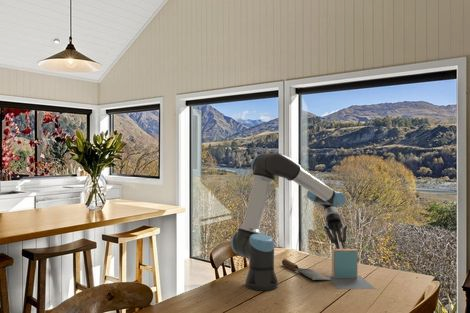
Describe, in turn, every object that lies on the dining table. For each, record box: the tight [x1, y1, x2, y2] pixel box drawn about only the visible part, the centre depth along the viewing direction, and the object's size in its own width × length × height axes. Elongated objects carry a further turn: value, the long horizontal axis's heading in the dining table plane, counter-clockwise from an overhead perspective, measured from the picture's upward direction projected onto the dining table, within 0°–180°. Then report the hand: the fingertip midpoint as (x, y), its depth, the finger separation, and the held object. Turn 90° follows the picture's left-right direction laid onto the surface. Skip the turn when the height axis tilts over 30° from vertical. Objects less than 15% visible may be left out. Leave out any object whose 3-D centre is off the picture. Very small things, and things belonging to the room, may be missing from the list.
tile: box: [331, 248, 359, 278], centre depth 196 cm, size 12×3×14 cm, turn 92°
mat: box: [325, 275, 376, 290], centre depth 189 cm, size 18×20×1 cm
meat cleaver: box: [281, 258, 331, 281], centre depth 205 cm, size 34×11×4 cm, turn 20°
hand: (341, 254), depth 201 cm, fingers closed
